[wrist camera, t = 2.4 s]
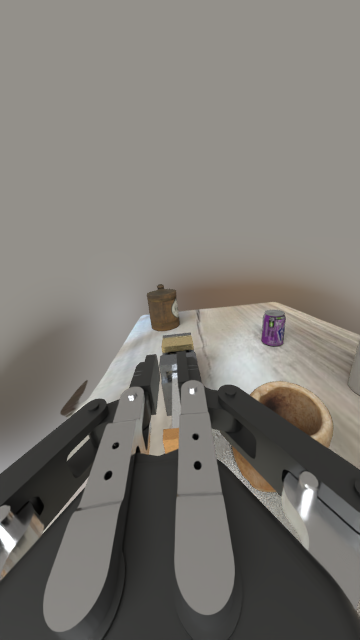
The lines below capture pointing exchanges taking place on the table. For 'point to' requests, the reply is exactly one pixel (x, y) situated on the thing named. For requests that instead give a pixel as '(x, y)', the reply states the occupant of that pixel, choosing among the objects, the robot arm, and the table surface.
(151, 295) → the wooden container
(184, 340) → the latch bracket
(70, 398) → the table surface
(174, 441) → the sliding latch bolt
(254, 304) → the table surface
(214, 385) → the table surface
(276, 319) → the beverage can
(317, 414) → the stone cup
